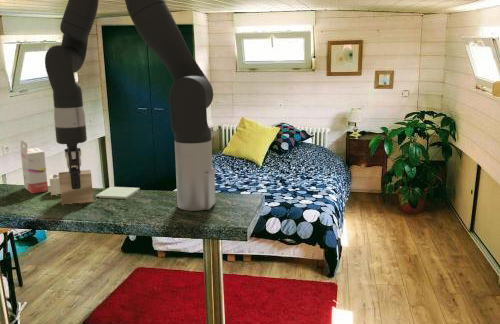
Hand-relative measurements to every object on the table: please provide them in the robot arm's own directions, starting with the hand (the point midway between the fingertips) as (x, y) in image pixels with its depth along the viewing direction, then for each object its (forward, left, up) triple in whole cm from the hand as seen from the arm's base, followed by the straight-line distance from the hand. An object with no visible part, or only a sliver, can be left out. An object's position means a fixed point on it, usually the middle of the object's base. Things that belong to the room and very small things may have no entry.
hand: (75, 185), depth 130 cm
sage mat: (-8, -9, -5) cm, 12 cm away
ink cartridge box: (+18, -9, -5) cm, 21 cm away
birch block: (0, 0, -5) cm, 5 cm away
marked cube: (+9, -7, -5) cm, 13 cm away
